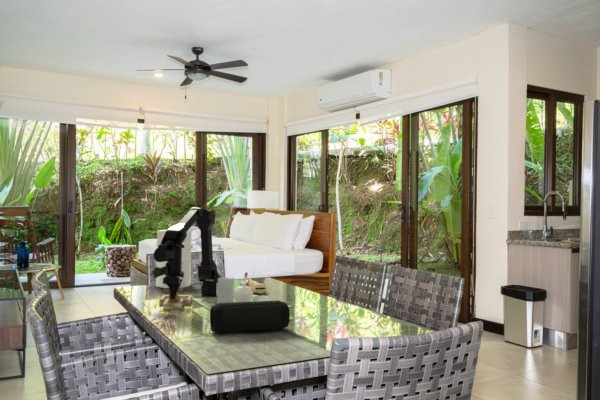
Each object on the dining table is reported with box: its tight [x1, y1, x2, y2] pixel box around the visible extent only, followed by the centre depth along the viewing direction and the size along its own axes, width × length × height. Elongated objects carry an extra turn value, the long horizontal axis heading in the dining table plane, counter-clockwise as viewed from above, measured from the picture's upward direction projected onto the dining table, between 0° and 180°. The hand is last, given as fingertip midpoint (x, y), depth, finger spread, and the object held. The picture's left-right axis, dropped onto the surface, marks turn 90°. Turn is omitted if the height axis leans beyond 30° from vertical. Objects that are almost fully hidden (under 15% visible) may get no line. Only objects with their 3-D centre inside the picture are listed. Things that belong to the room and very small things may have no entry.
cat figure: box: [239, 271, 268, 295], centre depth 243 cm, size 10×9×25 cm
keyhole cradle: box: [158, 294, 193, 310], centre depth 204 cm, size 12×18×2 cm
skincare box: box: [216, 276, 235, 304], centre depth 202 cm, size 6×4×12 cm
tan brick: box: [163, 287, 184, 303], centre depth 199 cm, size 7×3×8 cm, turn 97°
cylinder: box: [155, 229, 192, 289], centre depth 253 cm, size 17×17×28 cm
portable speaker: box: [209, 300, 291, 335], centre depth 165 cm, size 26×10×10 cm, turn 109°
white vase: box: [233, 281, 254, 302], centre depth 192 cm, size 8×8×12 cm
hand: (173, 298), depth 199 cm, fingers closed on tan brick, 3 cm apart
